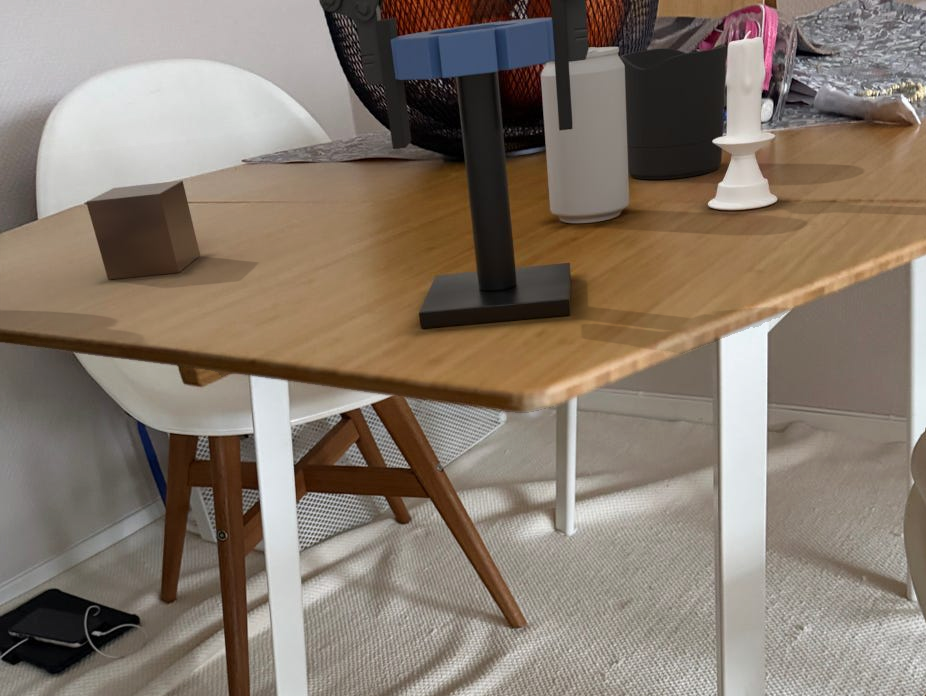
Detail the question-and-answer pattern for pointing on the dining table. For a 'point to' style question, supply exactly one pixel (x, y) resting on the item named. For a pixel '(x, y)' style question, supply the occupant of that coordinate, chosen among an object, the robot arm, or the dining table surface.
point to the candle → (744, 129)
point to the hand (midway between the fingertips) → (483, 135)
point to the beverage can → (588, 139)
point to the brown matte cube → (144, 230)
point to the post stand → (491, 232)
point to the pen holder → (674, 111)
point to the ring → (473, 49)
